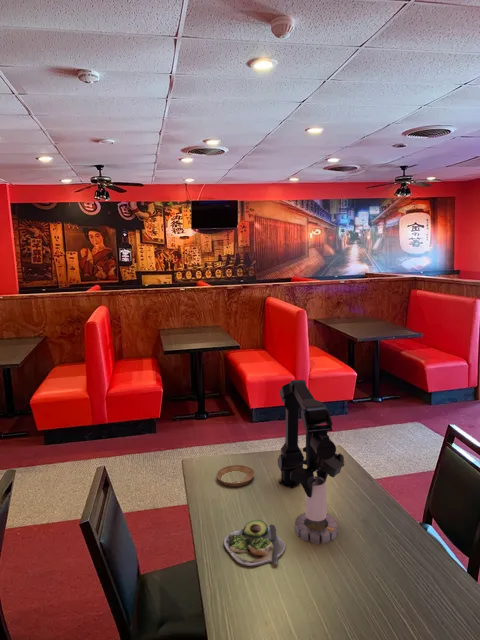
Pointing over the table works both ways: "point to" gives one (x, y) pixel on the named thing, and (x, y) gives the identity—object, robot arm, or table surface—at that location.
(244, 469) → the plant saucer
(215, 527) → the table surface
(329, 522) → the toothed ring
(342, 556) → the table surface
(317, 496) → the can
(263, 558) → the avocado toast plate
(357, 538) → the table surface
